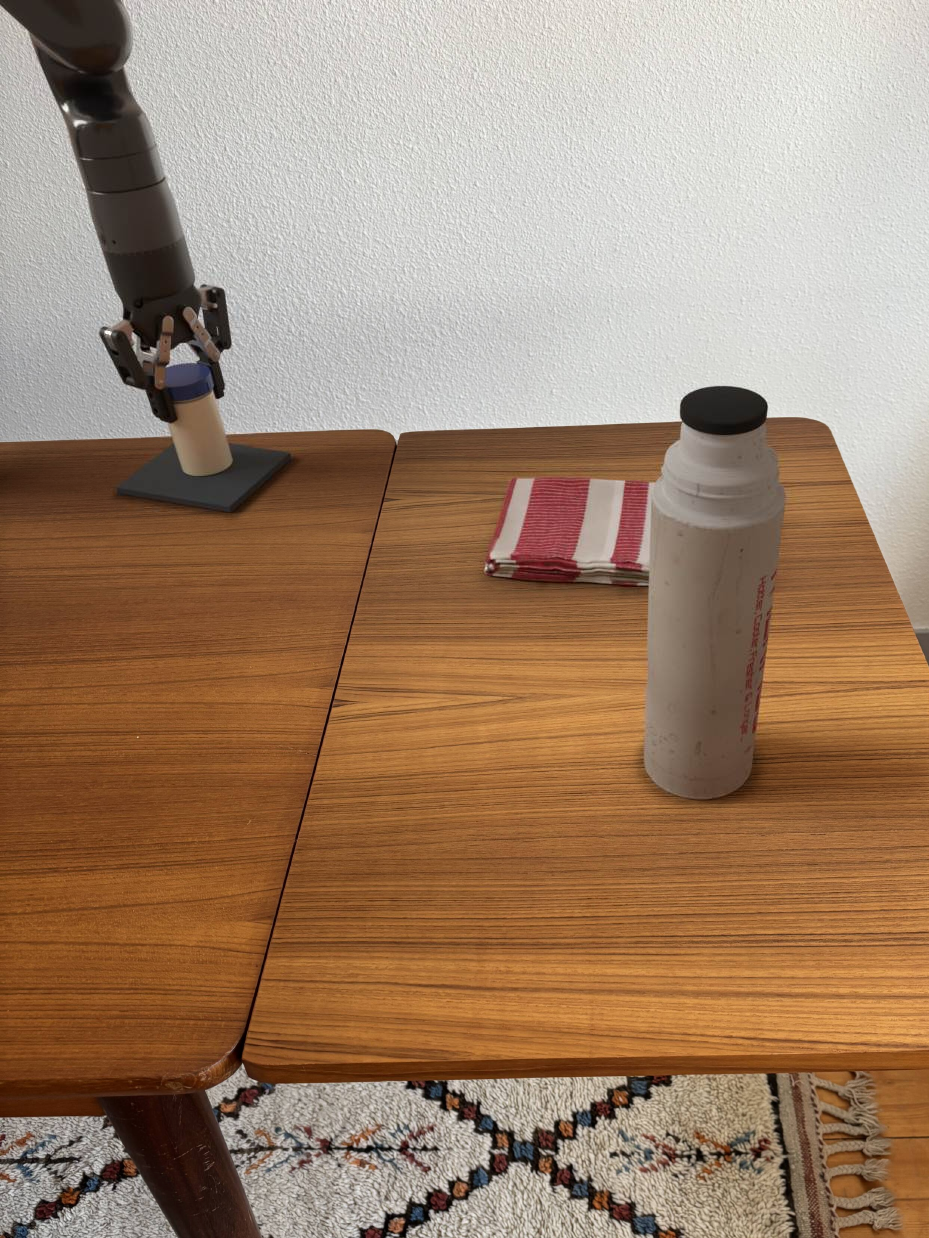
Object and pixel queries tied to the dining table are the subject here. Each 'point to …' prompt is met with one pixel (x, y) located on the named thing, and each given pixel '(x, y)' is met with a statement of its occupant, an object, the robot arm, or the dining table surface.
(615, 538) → the dish towel
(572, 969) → the dining table surface
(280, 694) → the dining table surface
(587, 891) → the dining table surface
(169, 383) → the lid
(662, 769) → the thermos bottle
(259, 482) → the mat
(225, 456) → the jar
